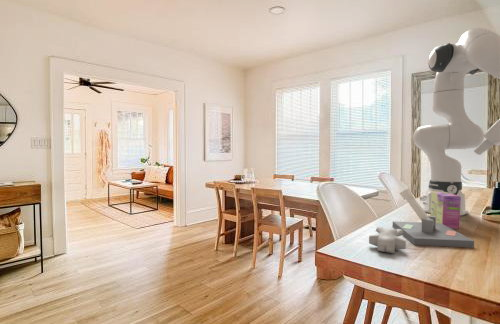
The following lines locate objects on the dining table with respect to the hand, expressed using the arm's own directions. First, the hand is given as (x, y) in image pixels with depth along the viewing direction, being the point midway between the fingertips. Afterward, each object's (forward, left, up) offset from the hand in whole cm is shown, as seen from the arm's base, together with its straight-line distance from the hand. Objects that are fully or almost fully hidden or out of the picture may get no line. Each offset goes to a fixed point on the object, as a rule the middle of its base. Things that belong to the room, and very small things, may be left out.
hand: (476, 153), depth 86 cm
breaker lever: (-5, -10, -24) cm, 27 cm away
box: (-21, +2, -27) cm, 35 cm away
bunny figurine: (+8, -27, -28) cm, 39 cm away
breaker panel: (-5, -10, -27) cm, 30 cm away
